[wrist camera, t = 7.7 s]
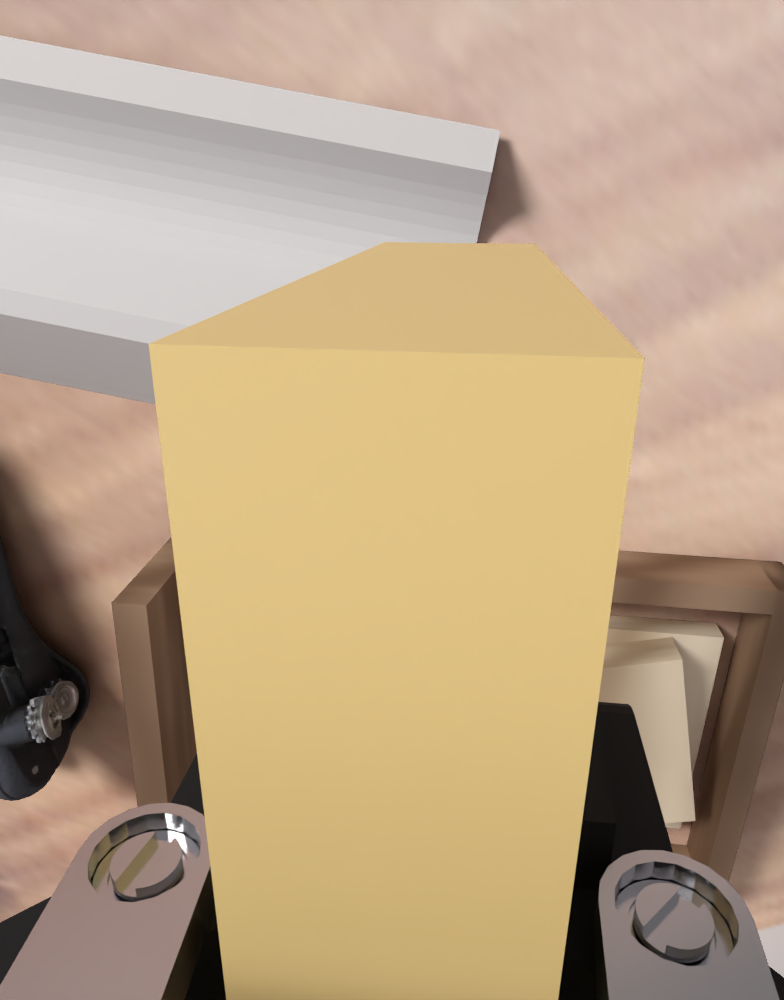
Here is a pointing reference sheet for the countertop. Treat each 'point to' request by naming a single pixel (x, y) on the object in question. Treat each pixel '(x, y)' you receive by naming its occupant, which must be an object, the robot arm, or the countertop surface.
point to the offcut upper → (655, 715)
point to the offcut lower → (699, 663)
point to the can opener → (32, 699)
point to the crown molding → (193, 202)
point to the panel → (397, 613)
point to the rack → (638, 580)
